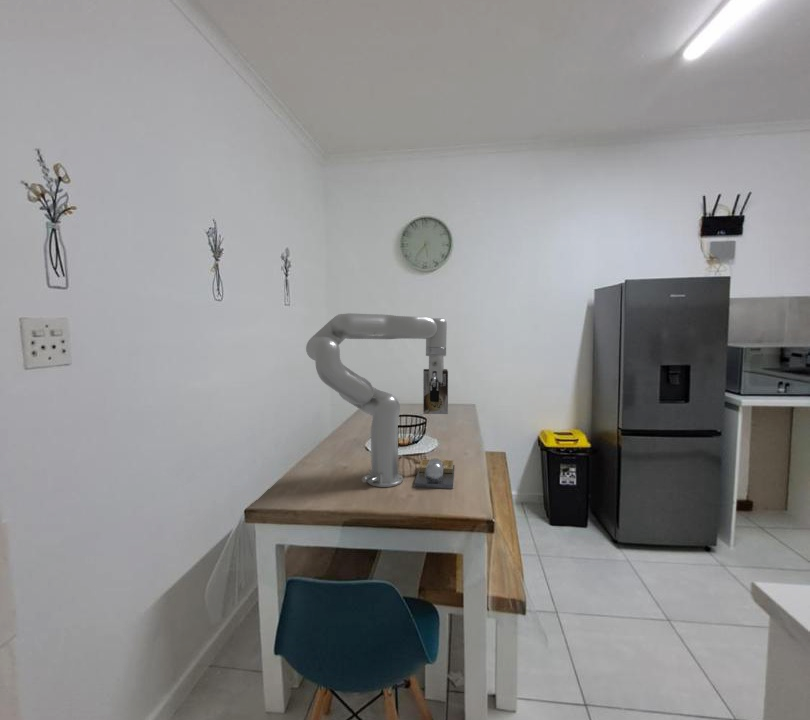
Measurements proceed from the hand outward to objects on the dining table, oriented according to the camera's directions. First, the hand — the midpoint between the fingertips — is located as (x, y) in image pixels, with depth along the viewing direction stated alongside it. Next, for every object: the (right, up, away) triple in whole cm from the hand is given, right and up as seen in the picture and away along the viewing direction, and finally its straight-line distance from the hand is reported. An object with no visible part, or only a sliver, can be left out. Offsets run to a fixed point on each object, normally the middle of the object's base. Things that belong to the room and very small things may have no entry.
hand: (435, 399), depth 157 cm
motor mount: (0, -28, -4) cm, 28 cm away
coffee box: (0, -5, 0) cm, 5 cm away
